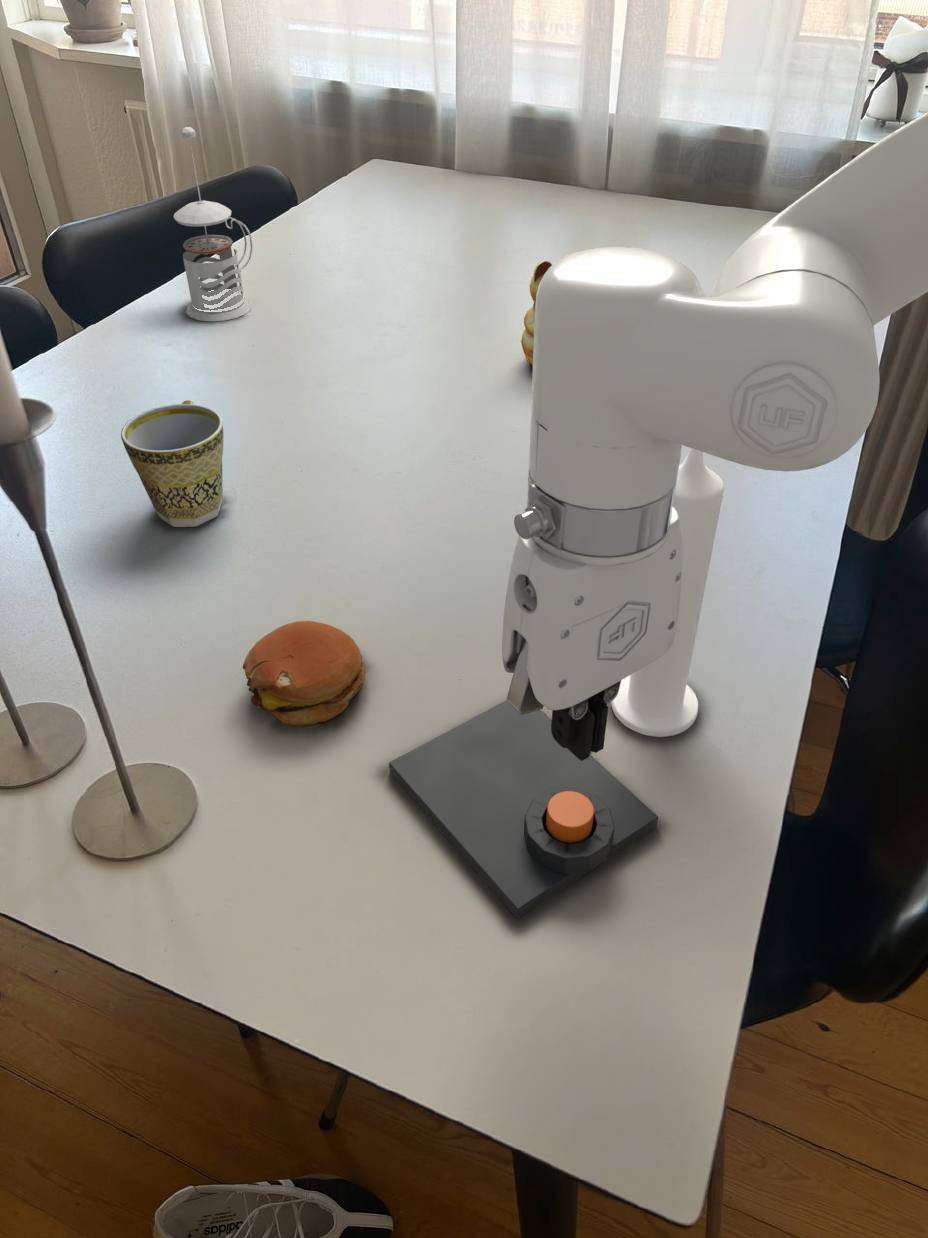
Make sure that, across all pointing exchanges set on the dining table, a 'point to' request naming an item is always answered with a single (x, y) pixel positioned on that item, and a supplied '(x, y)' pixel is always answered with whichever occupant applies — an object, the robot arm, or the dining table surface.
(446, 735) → the scale
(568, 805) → the button
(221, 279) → the french press
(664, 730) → the candle
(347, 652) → the burger
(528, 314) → the decorative figurine
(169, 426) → the ceramic cup
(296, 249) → the dining table surface
